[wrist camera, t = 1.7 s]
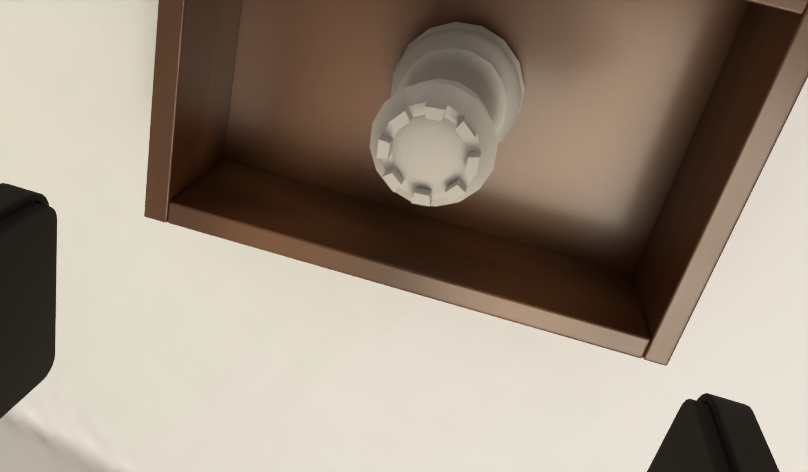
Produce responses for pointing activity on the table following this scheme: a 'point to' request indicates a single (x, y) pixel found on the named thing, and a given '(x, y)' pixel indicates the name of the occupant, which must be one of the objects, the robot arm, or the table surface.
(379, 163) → the rook chess piece
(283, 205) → the crate
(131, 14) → the table surface
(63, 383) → the table surface
